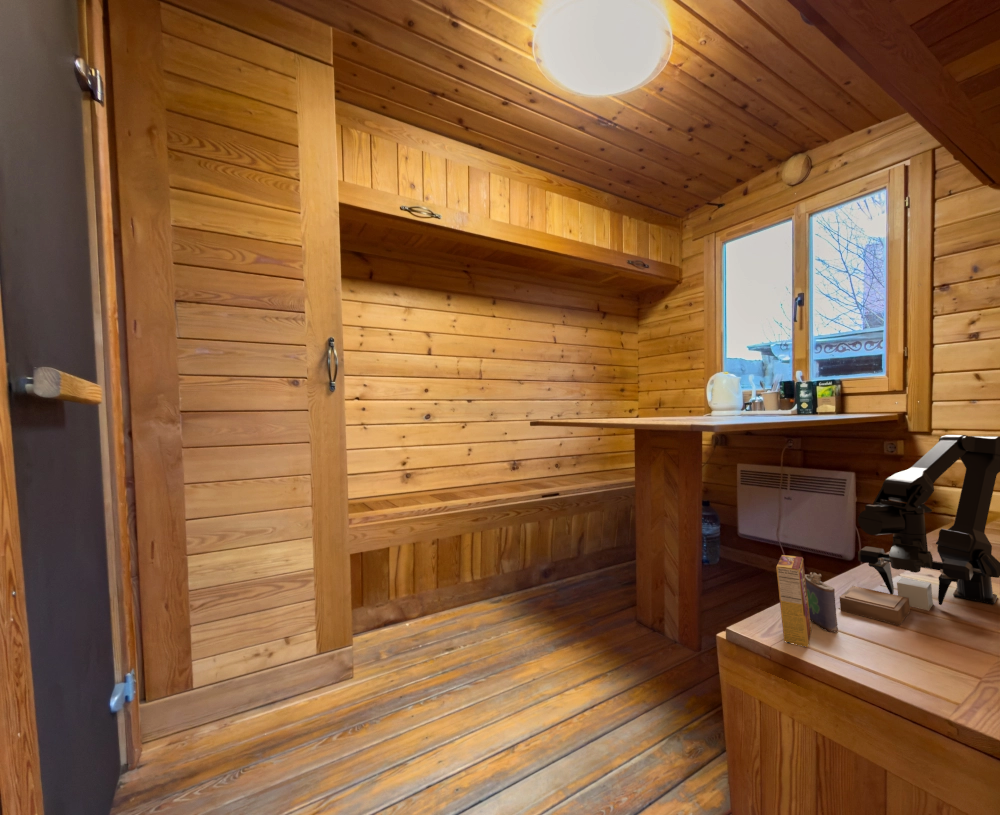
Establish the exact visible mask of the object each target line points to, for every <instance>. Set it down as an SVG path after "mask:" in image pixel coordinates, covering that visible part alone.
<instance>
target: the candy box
mask: <svg viewBox="0 0 1000 815" xmlns="http://www.w3.org/2000/svg"><path fill="white" fill-rule="evenodd" d="M775 568H776V569H775V570H776V577H777V585H778V596H779V605H780V615H781V624H782V633H783V634H782V635H783V642H784V641H786V642H790V643H794V644H797V645H796V646H798V645H802V646H806V647H809V645H810V639H811V634H812V623H811V622H812V621H810V614H809V605H808V596H807V588H806V579H805V572H806V571H805V563H804V558H803V556H797V555H796V556H795V555H784V554H781V556H780V557H779V560H778V563H777V565H776V567H775ZM808 644H809V645H808ZM802 646H801V647H802ZM806 647H805V648H806Z"/></svg>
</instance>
